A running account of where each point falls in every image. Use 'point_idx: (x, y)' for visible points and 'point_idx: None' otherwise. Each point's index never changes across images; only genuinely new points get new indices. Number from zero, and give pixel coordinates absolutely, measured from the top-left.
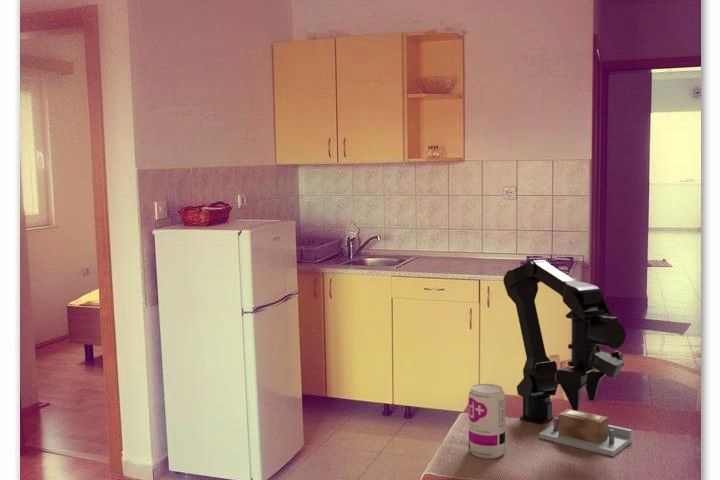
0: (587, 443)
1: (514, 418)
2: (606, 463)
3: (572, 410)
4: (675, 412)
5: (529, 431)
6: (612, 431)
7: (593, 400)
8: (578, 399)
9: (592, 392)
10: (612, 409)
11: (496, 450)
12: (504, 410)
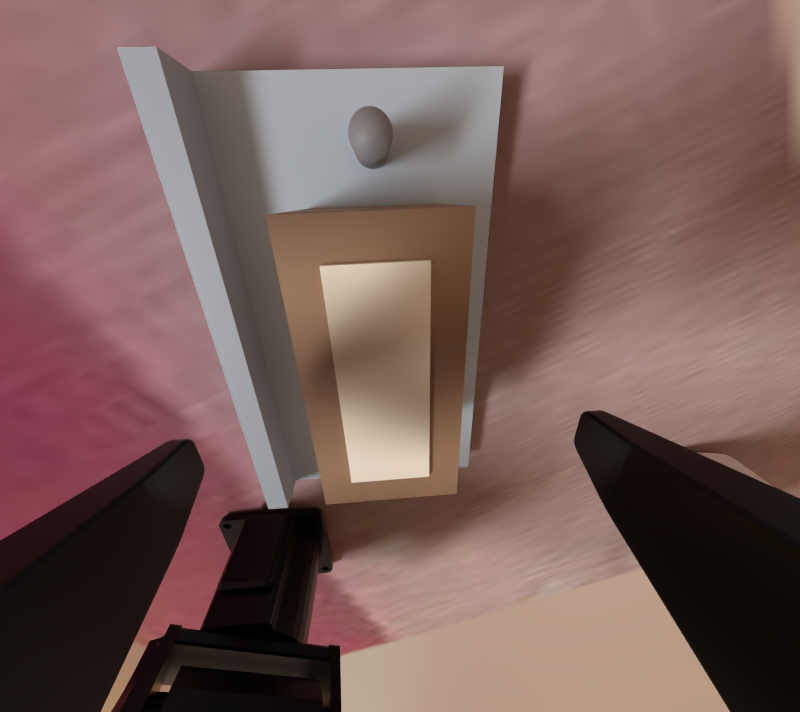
0: None
1: (337, 572)
2: (617, 65)
3: (332, 476)
4: None
5: (417, 499)
6: (386, 116)
7: (190, 441)
8: (785, 496)
9: (132, 534)
10: None
11: (750, 471)
12: None
